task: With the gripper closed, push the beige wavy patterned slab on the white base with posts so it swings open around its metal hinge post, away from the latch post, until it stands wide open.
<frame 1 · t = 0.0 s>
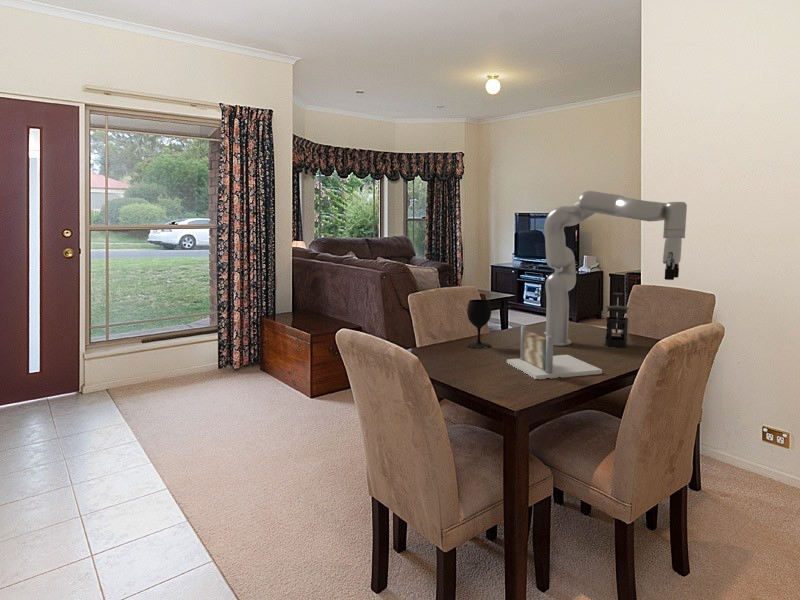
hand: (671, 278, 215), 31 cm above the table, tool pointing down, fingers open, 9 cm apart
wine glass: (478, 346, 242), on the table
white base with posts: (552, 368, 204), on the table
beige wavy patterned slab: (535, 349, 202), point 8 cm above the table, hinge at 0.0°
french press: (616, 345, 239), on the table
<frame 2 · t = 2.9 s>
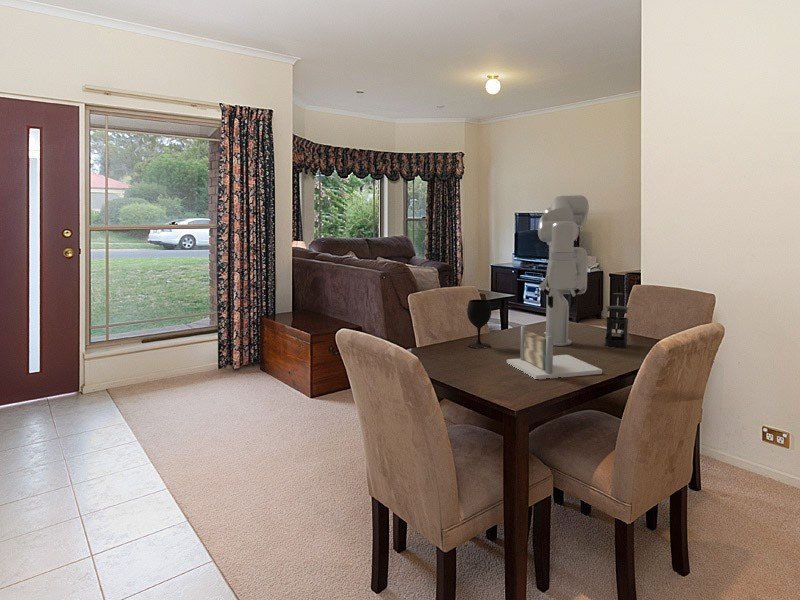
hand: (560, 306, 198), 24 cm above the table, tool pointing down, fingers open, 6 cm apart
nothing on the table moved.
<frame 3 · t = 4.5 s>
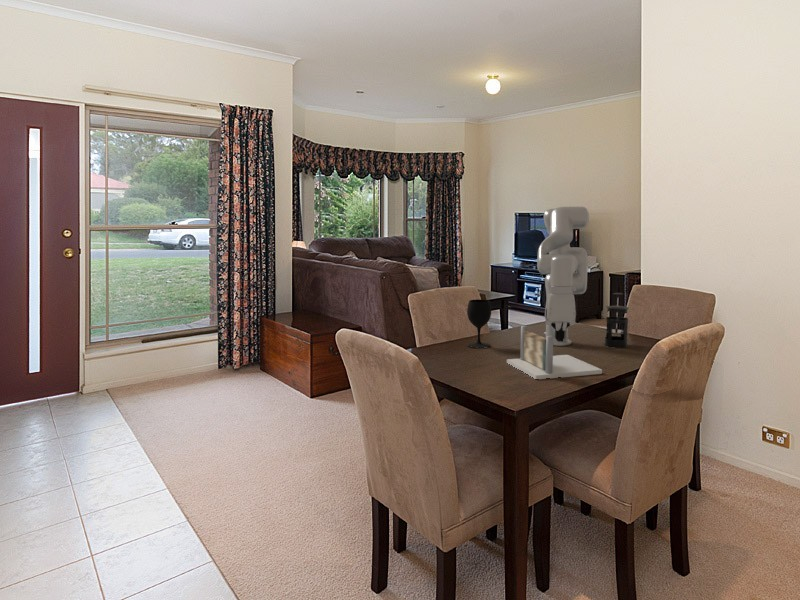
hand: (559, 340, 199), 11 cm above the table, tool pointing down, fingers closed
nothing on the table moved.
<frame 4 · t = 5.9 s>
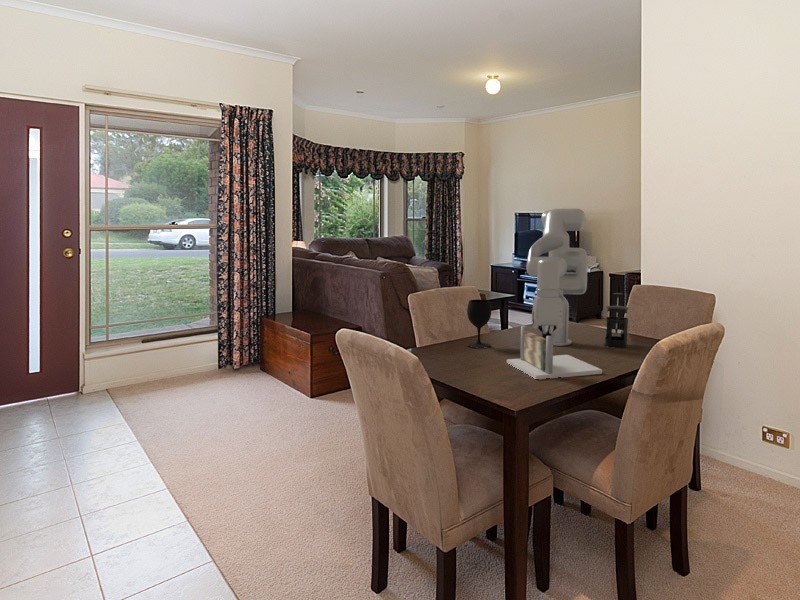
hand: (546, 343, 199), 10 cm above the table, tool pointing down, fingers closed
beige wavy patterned slab: (534, 349, 202), point 8 cm above the table, hinge at -2.4°, touching gripper
everything else where it was.
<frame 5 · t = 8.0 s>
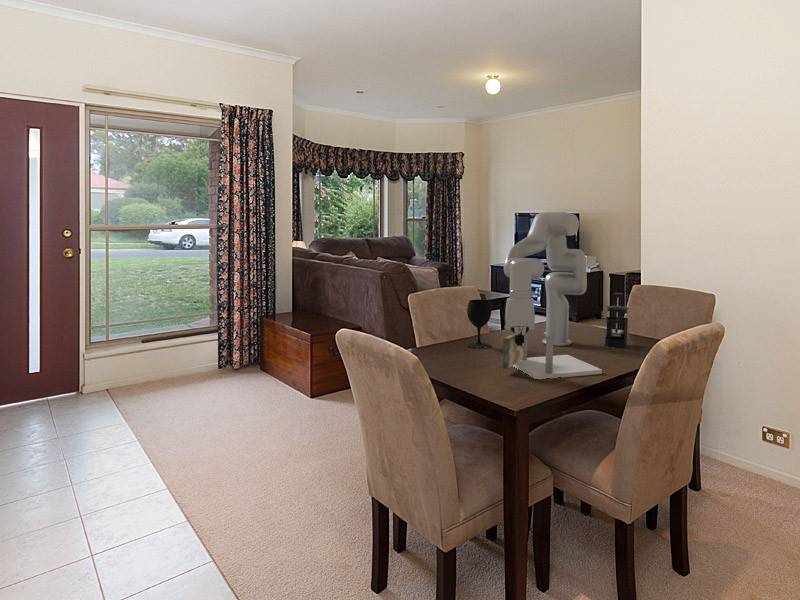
hand: (519, 345, 198), 10 cm above the table, tool pointing down, fingers closed
beige wavy patterned slab: (514, 349, 203), point 7 cm above the table, hinge at -48.6°, touching gripper
everything else where it was.
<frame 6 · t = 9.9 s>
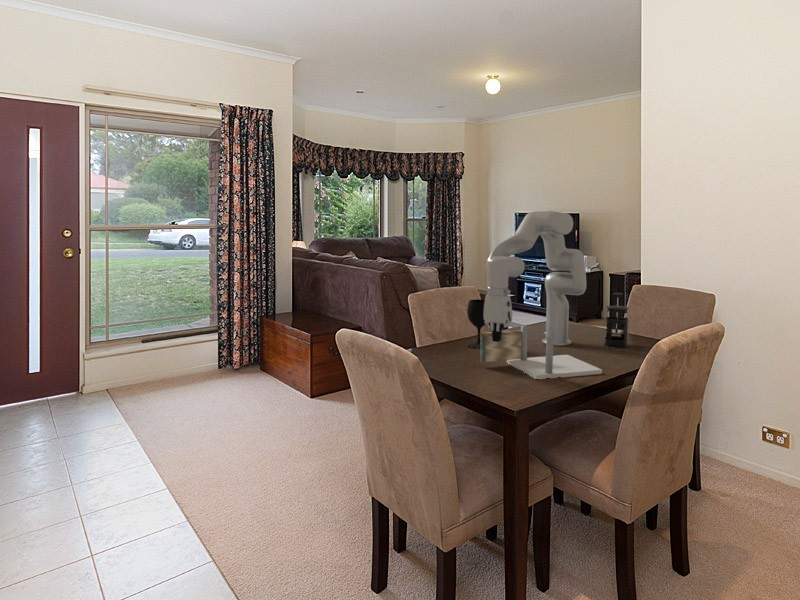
hand: (496, 341, 204), 10 cm above the table, tool pointing down, fingers closed
beige wavy patterned slab: (500, 346, 208), point 7 cm above the table, hinge at -90.0°, touching gripper
everything else where it was.
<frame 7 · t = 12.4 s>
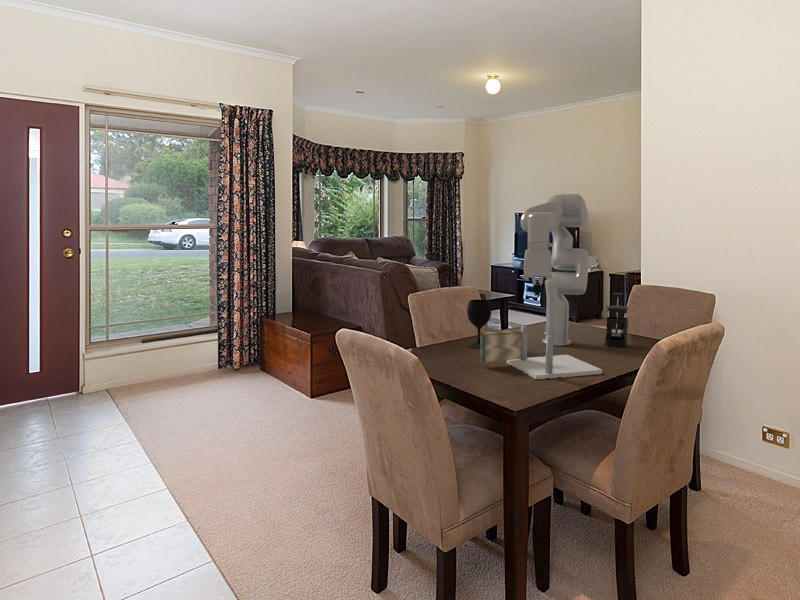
hand: (537, 294, 210), 26 cm above the table, tool pointing down, fingers closed
beige wavy patterned slab: (500, 346, 209), point 7 cm above the table, hinge at -90.1°
everything else where it was.
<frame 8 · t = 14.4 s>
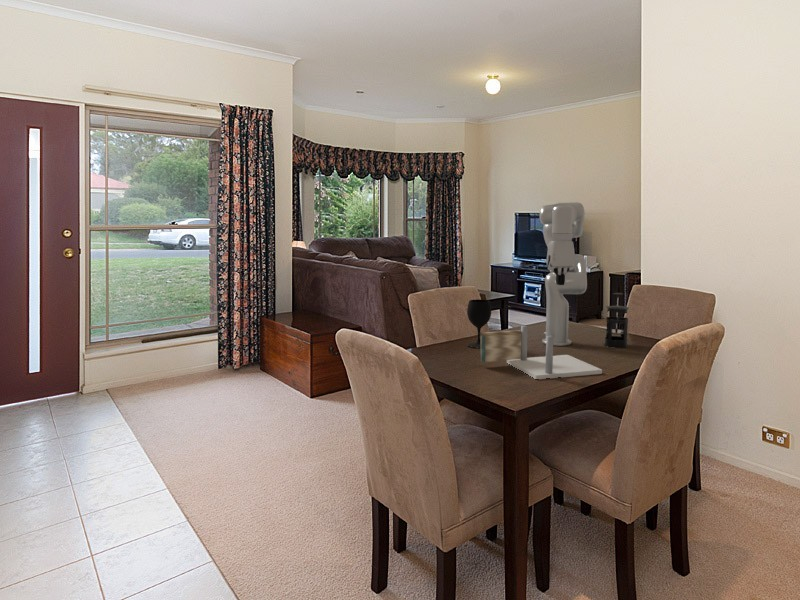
hand: (560, 284, 217), 29 cm above the table, tool pointing down, fingers closed
nothing on the table moved.
at the end: beige wavy patterned slab at -90° (first picture: +0°); wine glass moved 0.2 cm from its start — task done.
